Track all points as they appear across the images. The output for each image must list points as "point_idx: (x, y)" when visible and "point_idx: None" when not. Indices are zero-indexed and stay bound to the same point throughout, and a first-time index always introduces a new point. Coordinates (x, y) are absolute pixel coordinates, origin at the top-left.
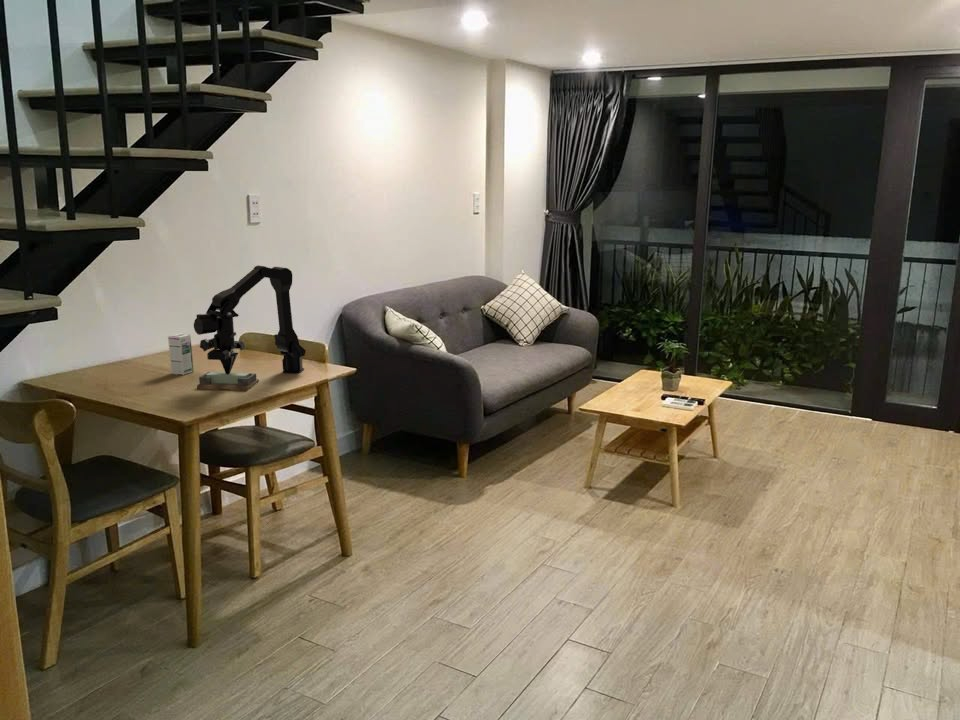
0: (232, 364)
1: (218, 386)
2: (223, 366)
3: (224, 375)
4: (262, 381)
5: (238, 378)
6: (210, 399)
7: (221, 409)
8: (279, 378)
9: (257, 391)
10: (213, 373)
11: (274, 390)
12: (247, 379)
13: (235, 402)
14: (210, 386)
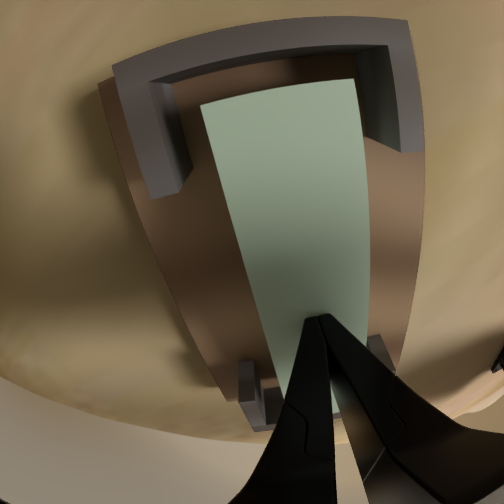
0: (350, 436)
1: (162, 269)
2: (287, 396)
3: (261, 321)
4: (408, 353)
5: (243, 404)
6: (26, 317)
7: (17, 382)
8: (446, 369)
9: (234, 411)
10: (295, 165)
11: (271, 433)
12: (253, 427)
13: (76, 397)
14: (138, 204)
